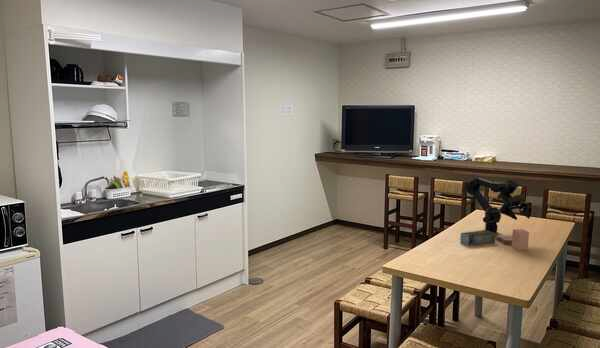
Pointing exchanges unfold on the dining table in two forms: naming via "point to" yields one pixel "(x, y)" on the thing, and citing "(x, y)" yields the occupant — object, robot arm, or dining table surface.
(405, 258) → the dining table surface
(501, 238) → the walnut block
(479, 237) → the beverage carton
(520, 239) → the reddish brown block
